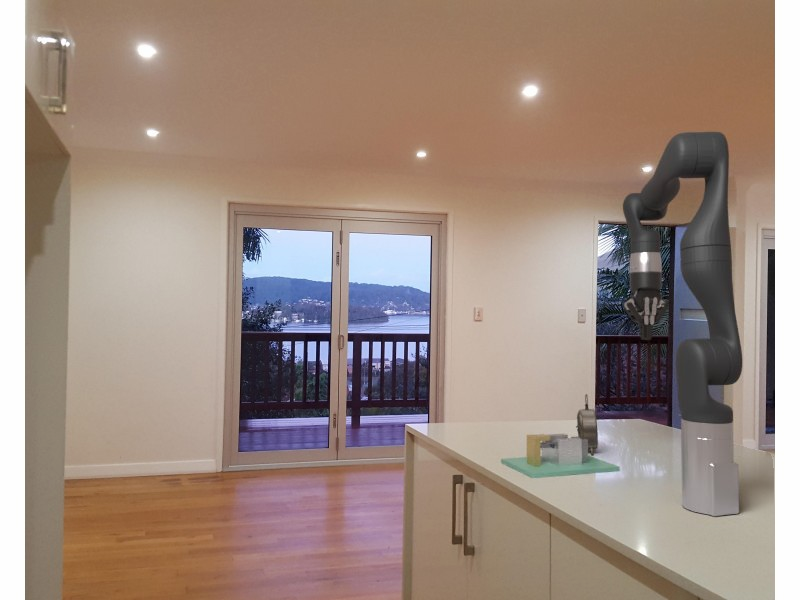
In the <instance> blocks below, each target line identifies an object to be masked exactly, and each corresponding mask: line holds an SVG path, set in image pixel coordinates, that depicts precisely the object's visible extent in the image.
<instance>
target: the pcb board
mask: <svg viewBox="0 0 800 600" xmlns="http://www.w3.org/2000/svg"><path fill="white" fill-rule="evenodd" d="M500 462H501V464H503V465H505V466H507V467H510V468H511V469H513V470H515V471H518V472H520V473H522V474H524V475H526V476H528V477H530V478H532V479H535V478H548V477H559V476H572V475H585V474H595V473H606V472H607V473H609V472H620V470H621V469H620V466H619V465H616V464H613V463H610V462H608V461H605V460H602V459H599V458H596V457H593V456H592V455H591V456H590V455H588V463H582V465H578V466H565V467H558V466H555V465H553V464H551V463H548V462H546V461H543V460H542V455H541V466H533V465H531V464H528V463H527V456H526V457H525V456H524V457H513V458H512V457H510V458H509V457H508V458H501V459H500Z"/></svg>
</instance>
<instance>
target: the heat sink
mask: <svg viewBox="0 0 800 600" xmlns="http://www.w3.org/2000/svg"><path fill="white" fill-rule="evenodd" d="M546 435H547V436H550V441H541V442H544V443H549V442H555V447H550V448H541V456H542V460H543V461H546V462H548V463H551V464H553V465H555V466H558V467H565V466H578V465H582V463H588V456H589V449H588V439H580V437H578V435H576V436H570V437H569V435H568V434H566V433H553V434H551V433H550V434H546ZM568 437H569V438H568Z"/></svg>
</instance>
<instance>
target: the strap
mask: <svg viewBox="0 0 800 600" xmlns="http://www.w3.org/2000/svg"><path fill="white" fill-rule="evenodd" d="M550 447H555V442H549V443H544V442H542V441H541V449H542V448H550Z"/></svg>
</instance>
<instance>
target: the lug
mask: <svg viewBox="0 0 800 600" xmlns="http://www.w3.org/2000/svg"><path fill="white" fill-rule="evenodd" d="M547 435H548V434H544V433H543V434H526V457H527V463H528V464H531V465H533V466H541V456H542V448H541V442H542V441H550V436H547Z"/></svg>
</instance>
